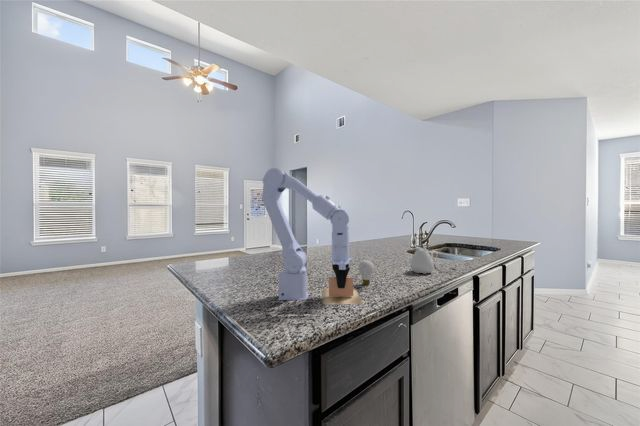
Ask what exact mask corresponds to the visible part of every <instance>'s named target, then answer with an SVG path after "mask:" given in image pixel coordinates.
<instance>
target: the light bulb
mask: <svg viewBox="0 0 640 426" xmlns="http://www.w3.org/2000/svg"><path fill="white" fill-rule="evenodd" d="M374 270H375V267H374V263H372V261H370V260H368V259H365V260H362V261H360V262H359V264H358V271H359V273H360V275H361V279H362V285H364V286H370V284H371V277H372V274H373V273H374Z"/></svg>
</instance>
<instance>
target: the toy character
mask: <svg viewBox="0 0 640 426" xmlns="http://www.w3.org/2000/svg"><path fill="white" fill-rule="evenodd" d="M434 268H435V264H434V260H433V259H432V256H431V254H430V252H429V251H428V249H427V248H426V246H423V248H421V247H420V246H418V247H417V248H416V250H415V251H414V254H413V256H412V257H411V260H410V269H411V271H413V272H414V273H416V274H419V273H423V275H426V273H428V274H430V273H432V272H433V271H434Z"/></svg>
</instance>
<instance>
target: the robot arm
mask: <svg viewBox="0 0 640 426" xmlns="http://www.w3.org/2000/svg"><path fill="white" fill-rule="evenodd" d="M262 184H263V186H262V195H261V199H262V203H263V204H264V207H265V210H266V212H267V214H268V217H269V219H270V221H271V224H272V226H273V229H274V231H275V233H276V236H277V238H278V241H279V243H280V245H281V248H282V249H281V250H282V251H281V254H282V256H283V265H284V268H285V269H284V270H285V271H280V272H279V275H278V301H283V300H285V301H286V300H287V301H290V300H291V301H294V300H297V301H298V300H300V301H301V300H302V301H303V300H304V301H305V300H307V301H308V299H309V292H310V291H309V292H308V274H307V273H308V272H307V271H308V269H307V268H306V266H305V265H306V264H307V262H308V254H307V253H306V252H305V251H304V250H303V249H302V248H301V245H300V244H299V243H298V241H297V240H296V238H295V235H294V233H293V231H292V229H291V226H290V224H289V222H288V219H287V217H286V214H285V212H284V210H283V208H282V205H281V203H280V198H281V195H282V193H283V192H284V191H285V190H287V189H288V190H293V191H295V192H296V193H298V194H299V195H300V196H302V197H303V198H304V199H306V200H308V201H309V202H310V203H311V204H312V205H311V206H312V209H313V210H314V211H316V212H317V213H318V214H319V215H321V216H322V217H323V218H325V220H329V221H330V223H331V225H332V227H331V229H332V232H331V262H332V263H333V264H331V267H332V270H333V272H334V274H335V277H336V280H337V285H338V288H345V284H346V278H347V276H348V274H349V273H350V269H351V267H350V264H349V263H351V262H353V261H354V260H353V258H350V232H349V221H350V217H349V214H348V212H346V210H344V209H341V207H342V206H341V205H337V204H336V203H334V202H333V201H332V200H331V199H330V197H329V196H328V195H326V196H325V195H324V194H321V195H317V194H316V193H315V192H313V190H311V189H310V188H309V187H307V186H306V185H305V184H304V183H303V182H301V181H300V180H299V179H298V178H296V177H293V176H292V175H290V174H288V173H287V172H286V171H283V170H281V169H280V168H277V167H271V168H270V169H268V170H267V171H266V173H265V175H264V176H263V178H262Z"/></svg>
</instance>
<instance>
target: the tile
mask: <svg viewBox="0 0 640 426" xmlns="http://www.w3.org/2000/svg"><path fill="white" fill-rule="evenodd" d="M353 277H354V276H348V275H347V278H346V284H345V288H338V285H337V280H336V276H328V288H329V296H353V287H354V278H353Z"/></svg>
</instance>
